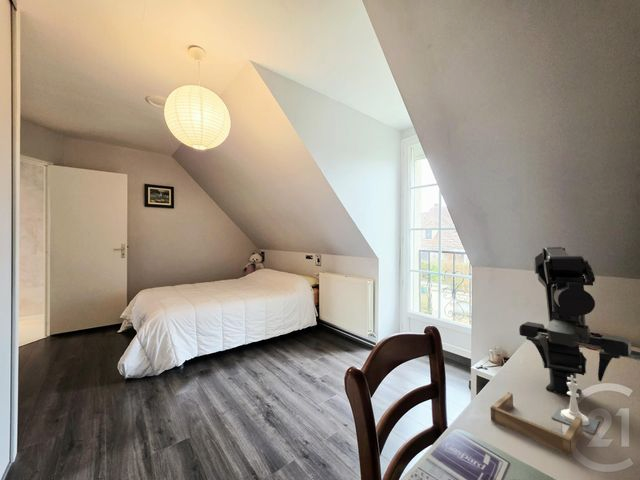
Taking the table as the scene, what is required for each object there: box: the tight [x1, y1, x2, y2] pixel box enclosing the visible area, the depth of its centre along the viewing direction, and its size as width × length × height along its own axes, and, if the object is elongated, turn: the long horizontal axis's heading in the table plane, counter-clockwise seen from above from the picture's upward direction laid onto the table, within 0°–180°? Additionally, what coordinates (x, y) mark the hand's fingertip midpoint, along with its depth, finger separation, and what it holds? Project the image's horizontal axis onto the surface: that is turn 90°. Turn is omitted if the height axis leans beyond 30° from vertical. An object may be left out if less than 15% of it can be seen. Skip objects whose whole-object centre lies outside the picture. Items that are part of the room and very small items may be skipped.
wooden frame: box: [490, 392, 584, 457], centre depth 60 cm, size 11×14×3 cm
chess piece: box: [561, 375, 589, 425], centre depth 62 cm, size 5×5×10 cm
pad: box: [551, 406, 600, 435], centre depth 62 cm, size 7×7×1 cm
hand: (572, 373), depth 62 cm, fingers open, 9 cm apart
